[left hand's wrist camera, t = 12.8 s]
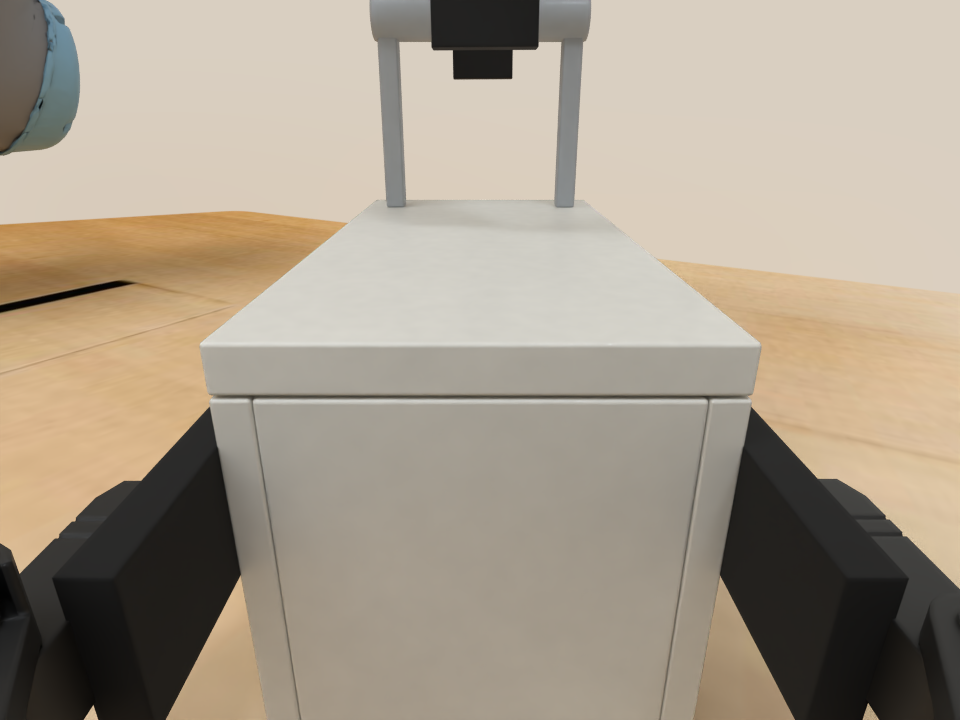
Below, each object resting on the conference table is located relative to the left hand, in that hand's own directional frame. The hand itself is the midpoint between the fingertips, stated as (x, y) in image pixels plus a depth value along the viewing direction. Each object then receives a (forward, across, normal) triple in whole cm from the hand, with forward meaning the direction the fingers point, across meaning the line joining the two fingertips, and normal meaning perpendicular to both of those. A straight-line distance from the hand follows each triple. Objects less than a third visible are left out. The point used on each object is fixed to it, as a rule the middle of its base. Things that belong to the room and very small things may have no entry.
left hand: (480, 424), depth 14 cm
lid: (+5, 0, +2) cm, 6 cm away
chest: (+5, 0, -7) cm, 9 cm away
